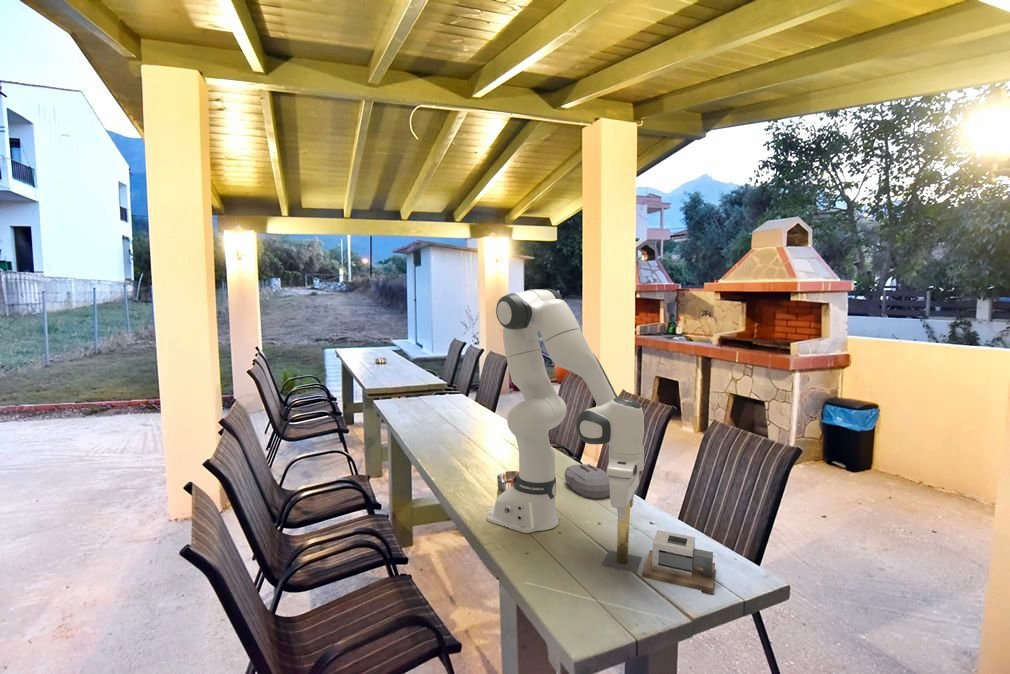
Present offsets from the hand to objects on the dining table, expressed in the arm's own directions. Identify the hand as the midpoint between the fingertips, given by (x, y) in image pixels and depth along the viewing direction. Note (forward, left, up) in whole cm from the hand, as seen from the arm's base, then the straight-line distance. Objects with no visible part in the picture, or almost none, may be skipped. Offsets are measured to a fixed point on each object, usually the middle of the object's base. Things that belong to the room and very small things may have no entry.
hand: (625, 512), depth 137 cm
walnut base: (+13, +1, -14) cm, 19 cm away
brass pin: (-1, 0, -13) cm, 13 cm away
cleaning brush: (-22, +48, -14) cm, 54 cm away
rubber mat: (-1, 0, -14) cm, 14 cm away
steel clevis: (+14, +1, -12) cm, 19 cm away
